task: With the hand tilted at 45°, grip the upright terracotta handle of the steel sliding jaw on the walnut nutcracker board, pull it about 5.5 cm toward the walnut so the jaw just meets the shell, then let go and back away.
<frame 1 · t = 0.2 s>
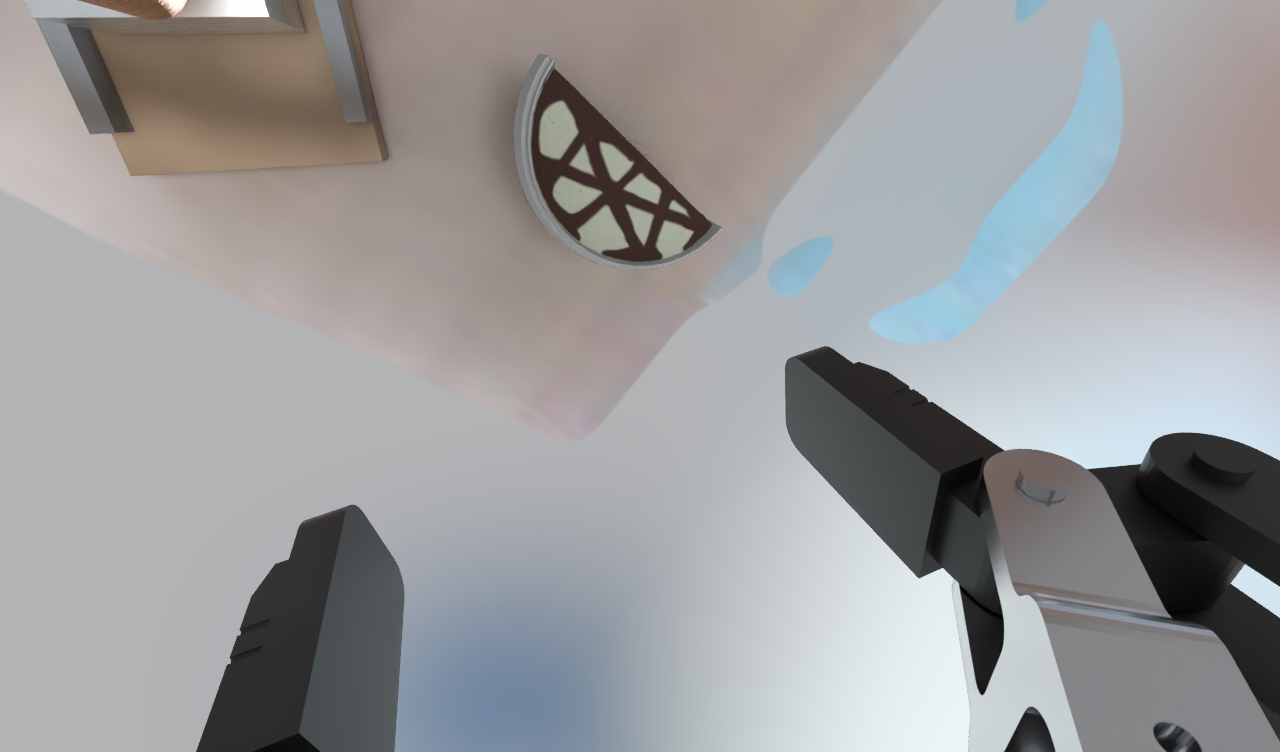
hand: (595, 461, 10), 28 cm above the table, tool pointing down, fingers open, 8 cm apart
food container: (575, 180, 34), on the table
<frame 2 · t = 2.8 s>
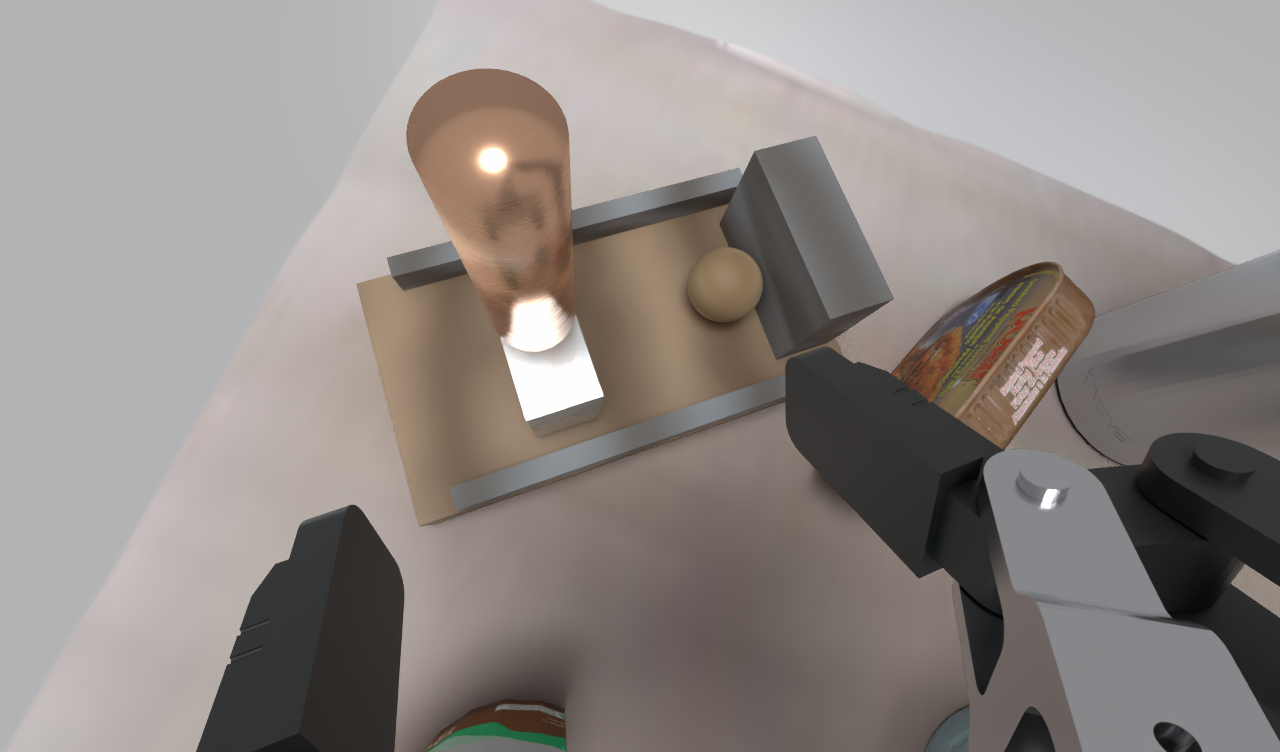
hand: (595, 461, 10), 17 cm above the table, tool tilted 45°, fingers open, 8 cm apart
tin: (900, 404, 29), on the table
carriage: (527, 285, 18), point 10 cm above the table, slide at 0.0 cm
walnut: (706, 313, 29), resting on railed wooden base
railed wooden base: (609, 343, 28), on the table
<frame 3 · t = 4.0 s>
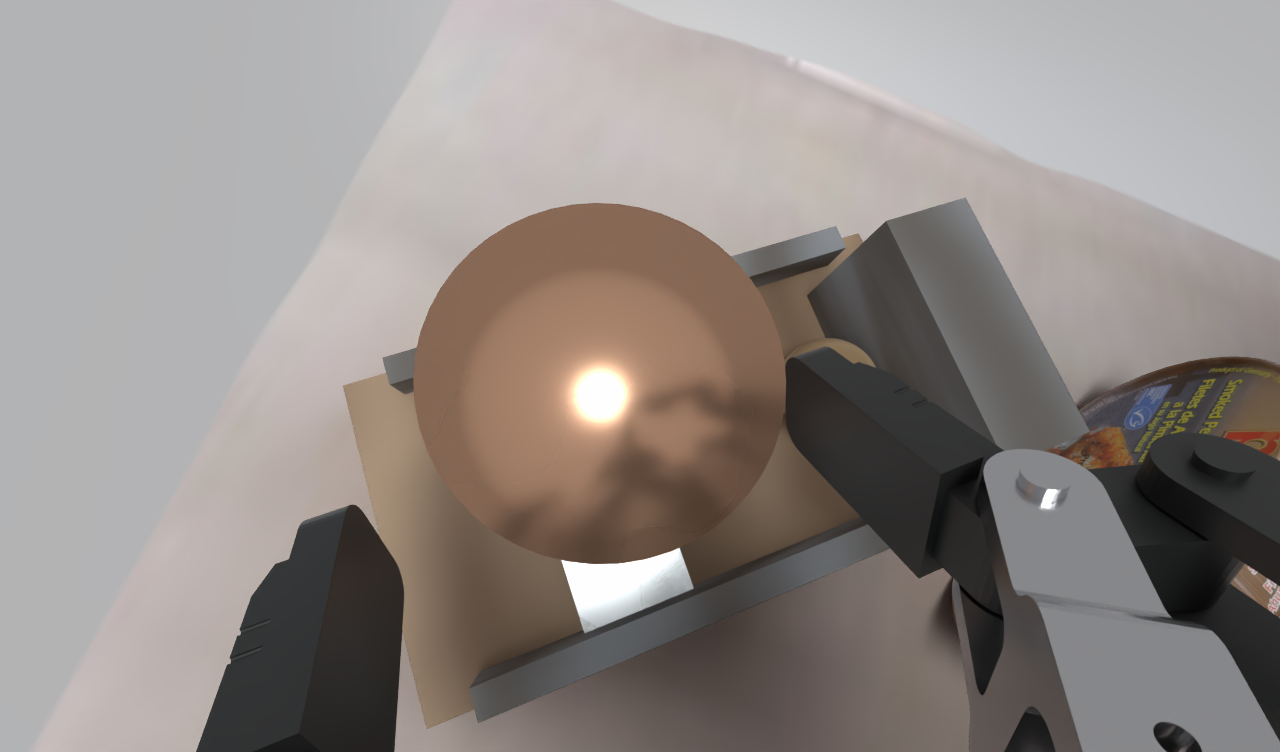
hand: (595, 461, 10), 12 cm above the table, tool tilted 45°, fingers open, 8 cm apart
tin: (1031, 519, 23), on the table
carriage: (592, 452, 12), point 10 cm above the table, slide at 0.0 cm
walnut: (788, 405, 23), resting on railed wooden base
railed wooden base: (667, 448, 22), on the table
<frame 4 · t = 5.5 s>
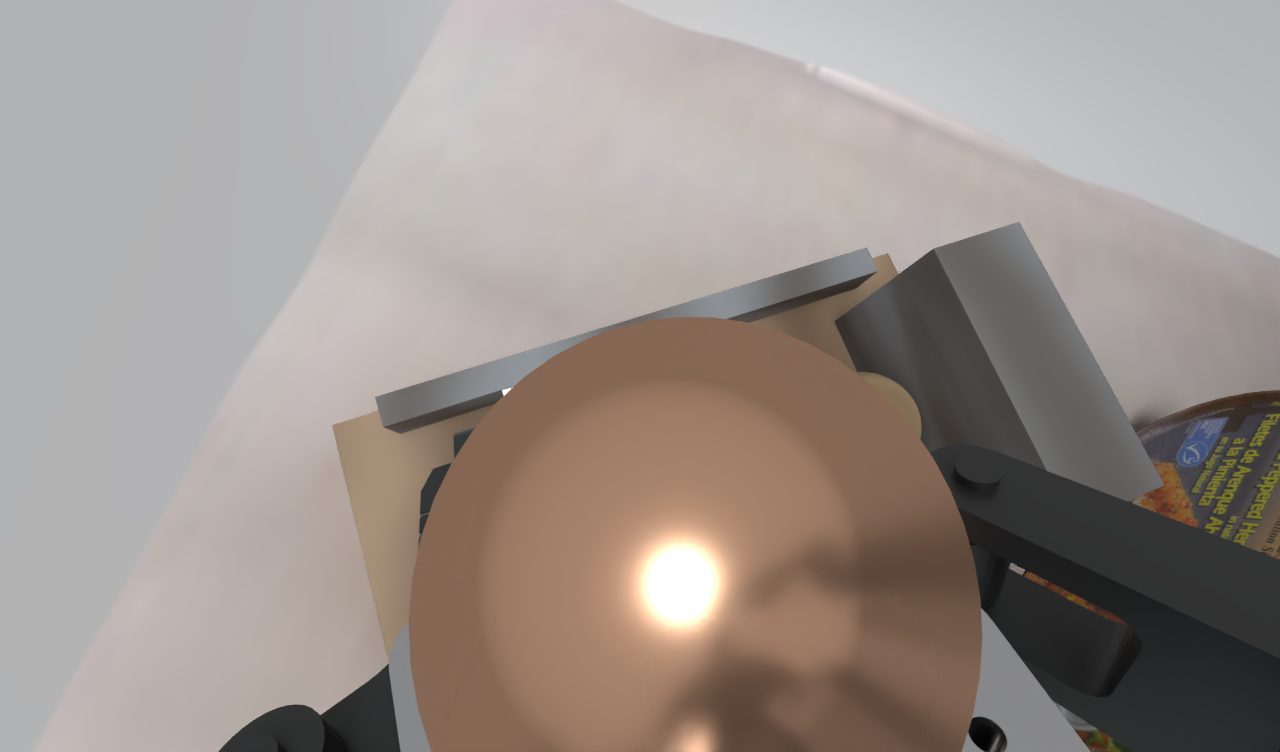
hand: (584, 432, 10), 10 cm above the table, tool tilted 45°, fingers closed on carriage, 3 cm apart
tin: (1074, 559, 22), on the table
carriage: (618, 529, 10), point 10 cm above the table, slide at 0.0 cm, touching gripper
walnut: (813, 438, 21), resting on railed wooden base
railed wooden base: (685, 486, 20), on the table
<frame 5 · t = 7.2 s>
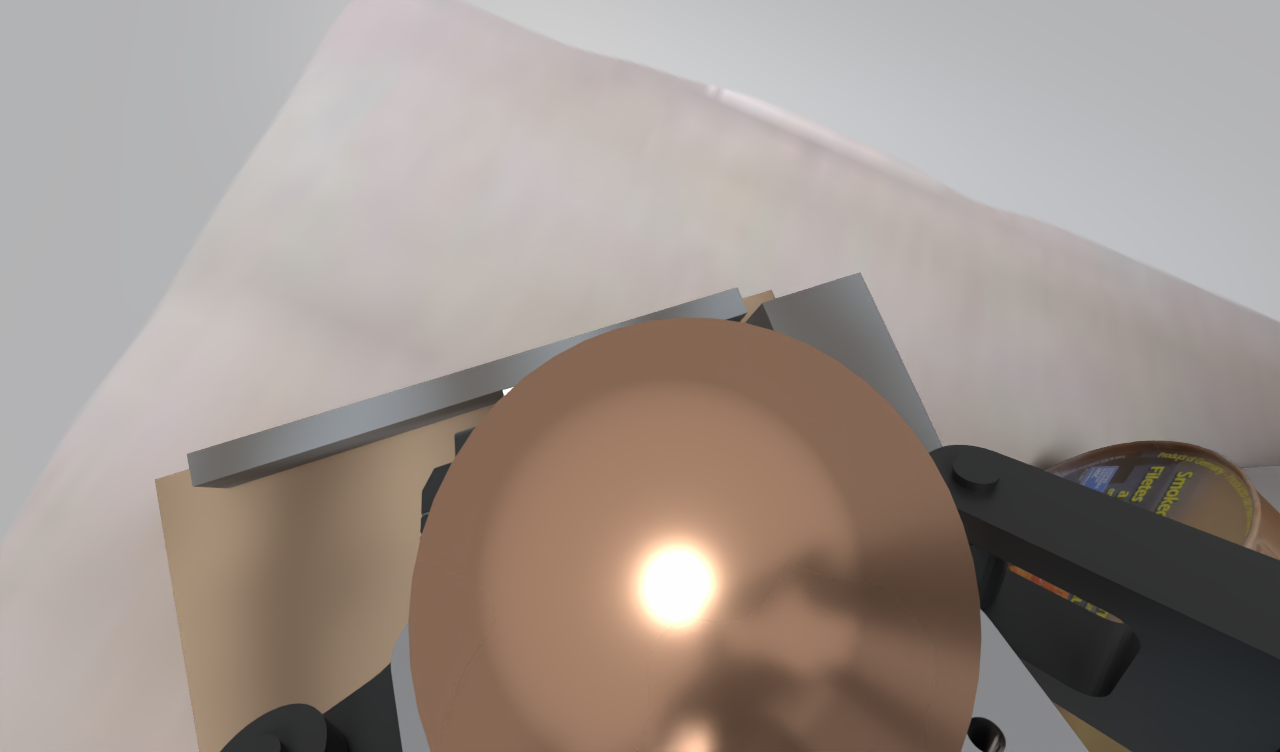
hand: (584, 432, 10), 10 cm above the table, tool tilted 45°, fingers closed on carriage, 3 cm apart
tin: (966, 611, 21), on the table
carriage: (618, 530, 10), point 10 cm above the table, slide at 5.5 cm, touching gripper
railed wooden base: (550, 537, 19), on the table
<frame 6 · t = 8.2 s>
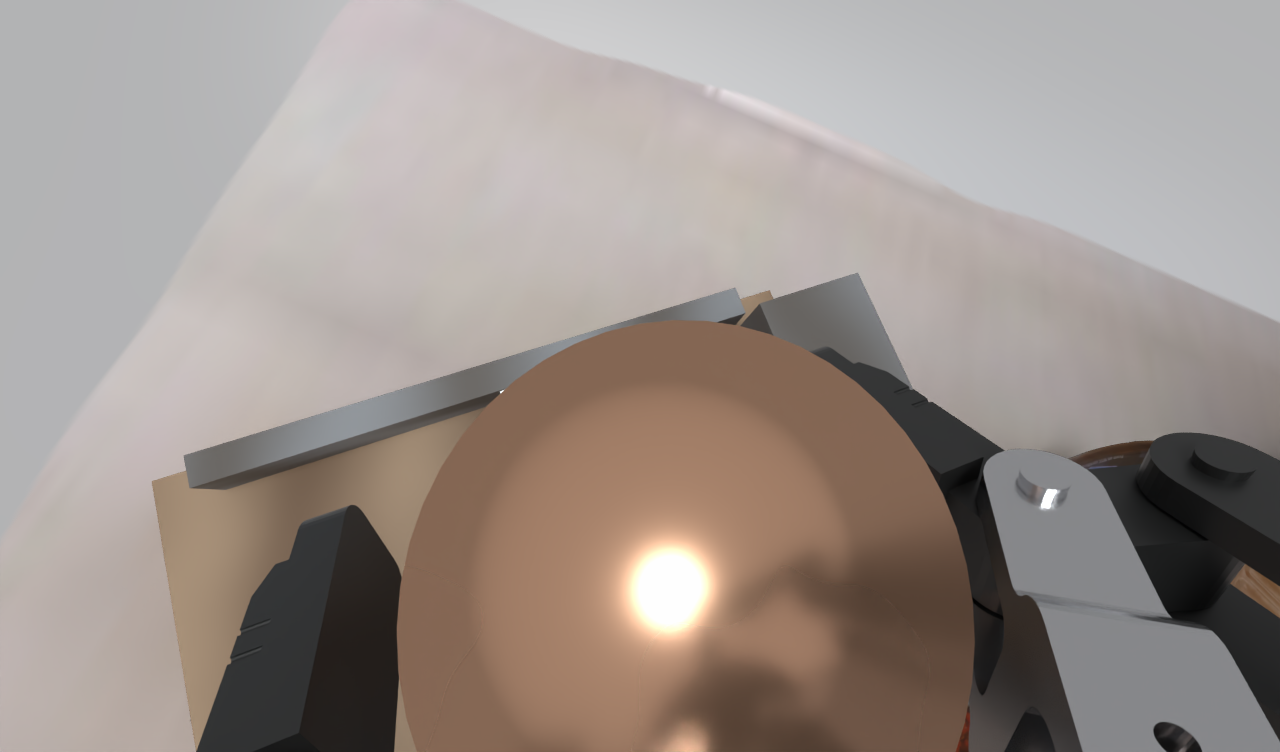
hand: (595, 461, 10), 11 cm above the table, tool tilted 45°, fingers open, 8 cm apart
tin: (965, 611, 21), on the table
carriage: (615, 531, 10), point 10 cm above the table, slide at 5.5 cm
railed wooden base: (548, 537, 19), on the table
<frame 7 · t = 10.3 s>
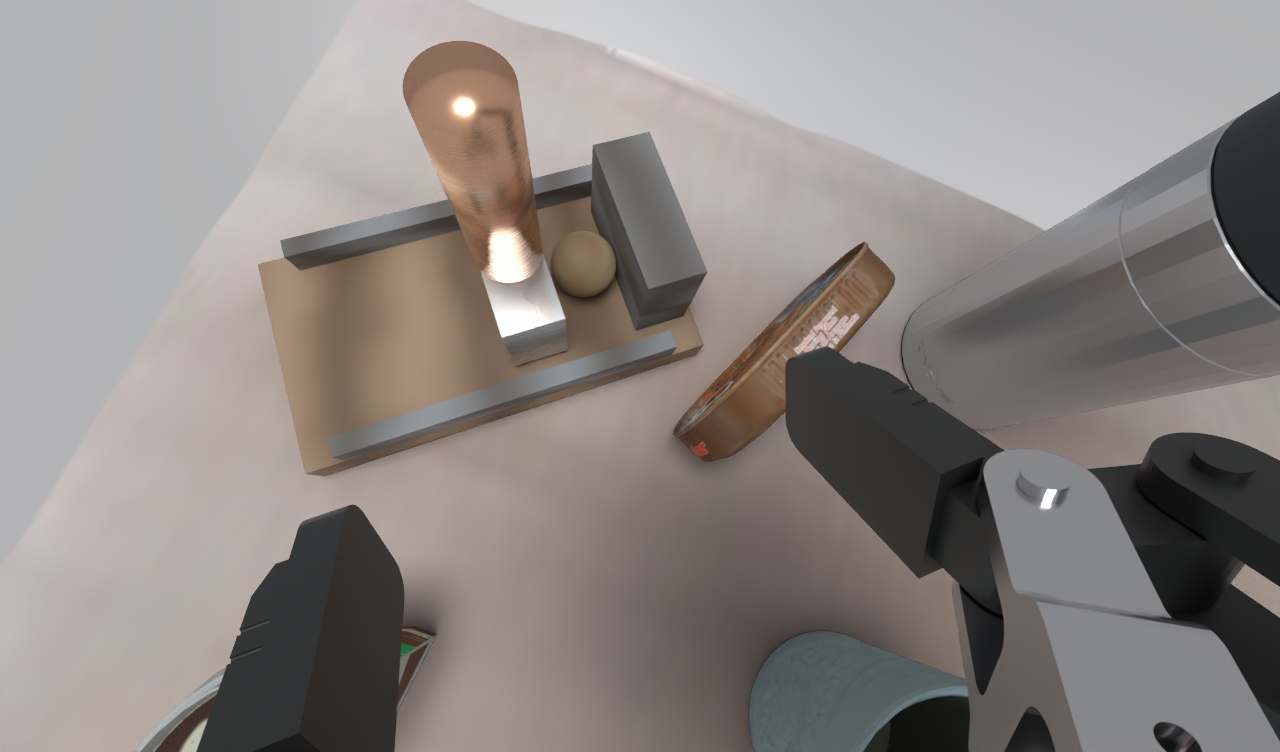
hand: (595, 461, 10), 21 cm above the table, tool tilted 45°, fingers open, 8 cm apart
food container: (334, 701, 26), on the table
tin: (758, 372, 33), on the table
teal cup: (818, 715, 28), on the table
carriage: (500, 223, 22), point 10 cm above the table, slide at 5.5 cm
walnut: (583, 291, 32), resting on railed wooden base
railed wooden base: (492, 318, 31), on the table
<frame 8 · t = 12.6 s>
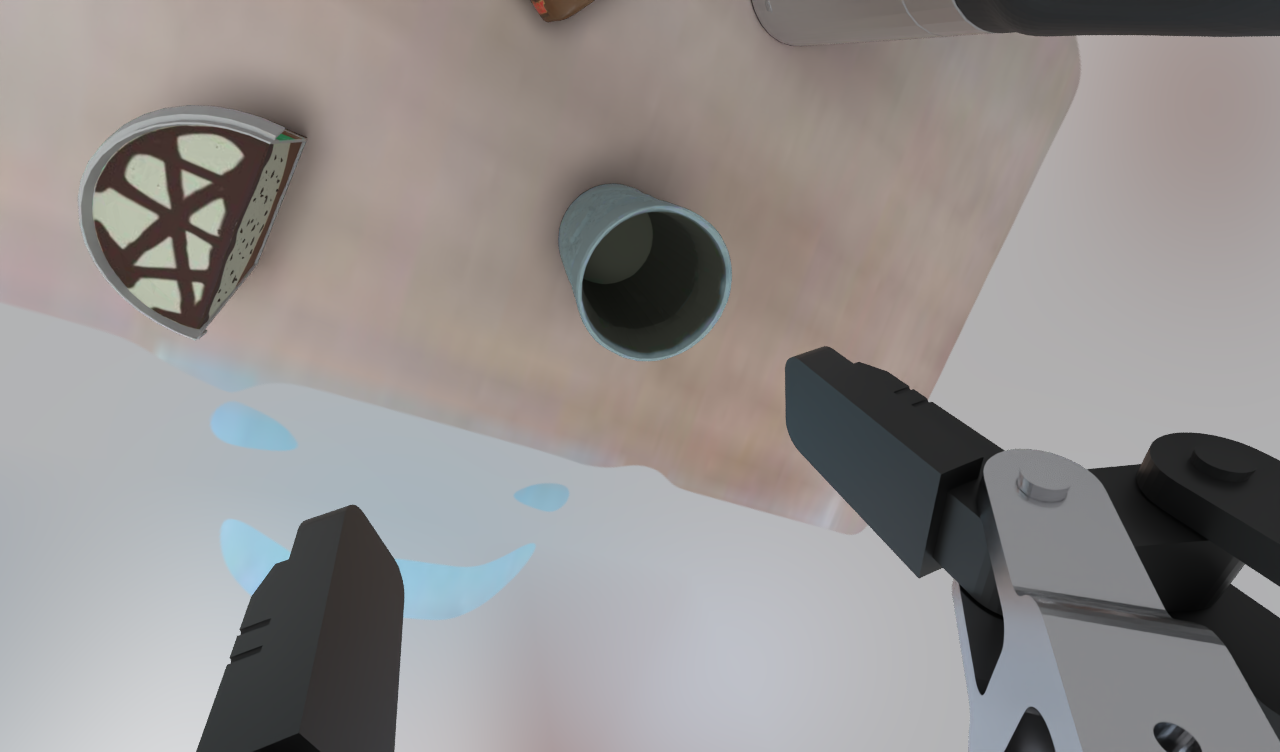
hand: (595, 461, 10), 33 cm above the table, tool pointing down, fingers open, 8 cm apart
food container: (225, 177, 33), on the table
teal cup: (606, 238, 42), on the table
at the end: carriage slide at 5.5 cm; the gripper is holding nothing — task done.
